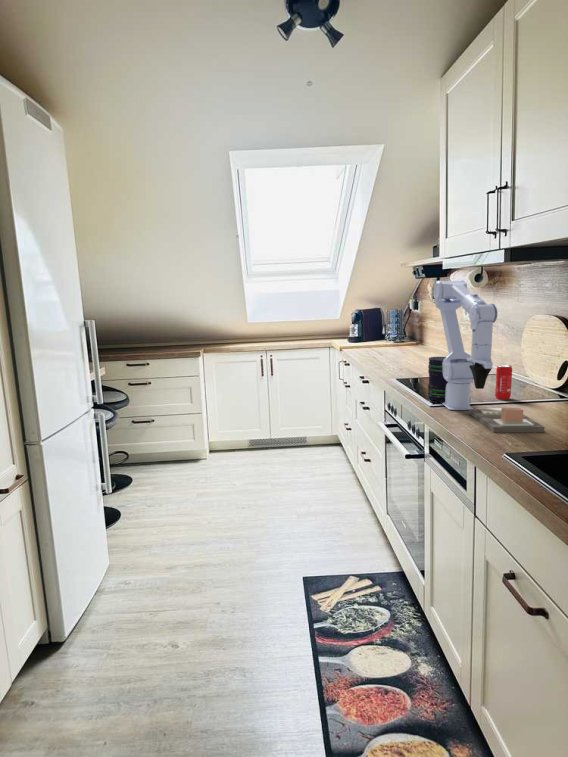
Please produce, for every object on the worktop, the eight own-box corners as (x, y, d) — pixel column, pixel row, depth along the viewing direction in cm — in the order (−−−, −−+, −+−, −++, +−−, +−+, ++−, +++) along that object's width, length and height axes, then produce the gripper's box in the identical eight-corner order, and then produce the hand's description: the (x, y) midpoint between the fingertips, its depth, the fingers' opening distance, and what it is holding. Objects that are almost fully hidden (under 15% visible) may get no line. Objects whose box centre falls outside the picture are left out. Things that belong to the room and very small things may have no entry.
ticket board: (468, 413, 166) (468, 407, 165) (512, 413, 165) (513, 407, 165) (493, 432, 144) (493, 425, 144) (544, 432, 143) (544, 425, 143)
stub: (493, 420, 151) (494, 407, 150) (524, 420, 150) (525, 407, 150) (500, 425, 145) (501, 412, 144) (533, 425, 144) (534, 412, 144)
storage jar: (452, 396, 192) (453, 356, 189) (458, 402, 182) (460, 360, 180) (425, 396, 193) (426, 356, 190) (429, 401, 183) (431, 360, 181)
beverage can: (501, 400, 183) (503, 367, 181) (491, 397, 188) (493, 365, 186) (513, 399, 185) (515, 366, 183) (503, 396, 190) (505, 364, 188)
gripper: (461, 342, 163) (459, 384, 165) (476, 347, 149) (473, 393, 151) (483, 341, 163) (481, 383, 165) (500, 346, 148) (498, 393, 151)
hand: (479, 388), depth 158 cm, fingers closed
